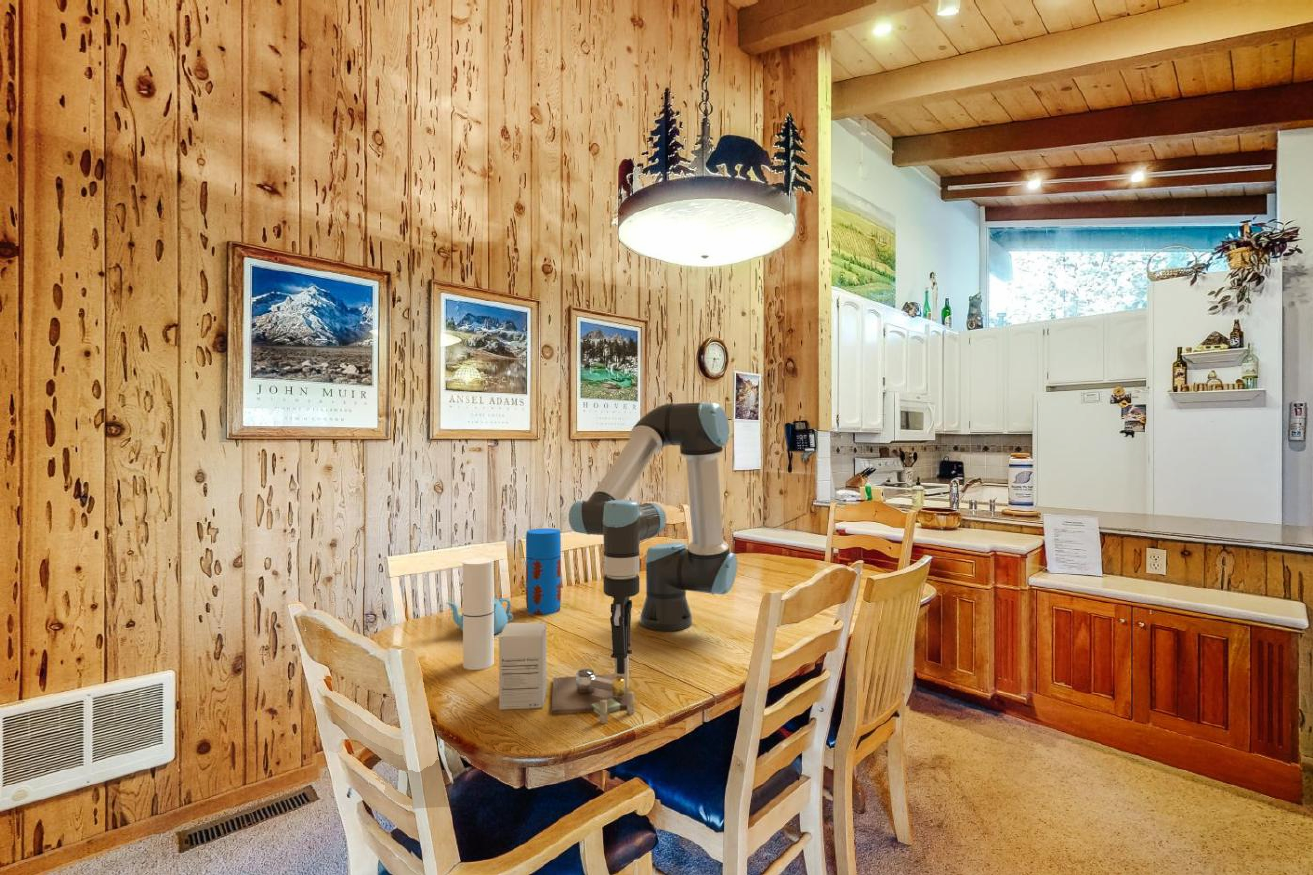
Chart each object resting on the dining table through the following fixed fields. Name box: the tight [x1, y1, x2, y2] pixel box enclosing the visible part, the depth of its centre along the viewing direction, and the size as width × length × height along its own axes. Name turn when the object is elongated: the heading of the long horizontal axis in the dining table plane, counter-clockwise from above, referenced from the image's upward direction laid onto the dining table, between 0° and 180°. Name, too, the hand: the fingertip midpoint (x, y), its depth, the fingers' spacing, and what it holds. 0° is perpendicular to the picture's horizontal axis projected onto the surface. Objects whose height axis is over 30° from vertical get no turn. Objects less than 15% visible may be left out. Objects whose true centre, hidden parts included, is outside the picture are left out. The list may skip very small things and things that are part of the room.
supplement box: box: [498, 621, 548, 711], centre depth 125 cm, size 9×9×15 cm
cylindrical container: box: [462, 557, 495, 671], centre depth 145 cm, size 7×7×25 cm
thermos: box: [525, 527, 562, 616], centre depth 189 cm, size 11×11×25 cm
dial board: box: [551, 673, 635, 725], centre depth 125 cm, size 16×21×4 cm
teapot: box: [445, 597, 514, 635], centre depth 169 cm, size 15×15×10 cm
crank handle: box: [575, 668, 625, 697], centre depth 126 cm, size 12×4×4 cm, turn 61°
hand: (621, 686), depth 126 cm, fingers closed
